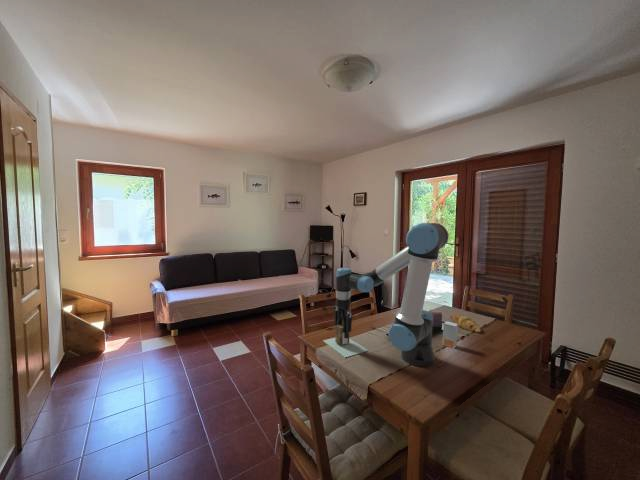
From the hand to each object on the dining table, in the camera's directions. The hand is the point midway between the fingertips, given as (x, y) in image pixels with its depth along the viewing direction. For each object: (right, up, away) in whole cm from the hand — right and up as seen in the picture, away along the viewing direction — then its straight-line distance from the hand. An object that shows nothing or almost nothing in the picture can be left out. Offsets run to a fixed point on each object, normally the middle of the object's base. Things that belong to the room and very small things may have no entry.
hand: (342, 341), depth 141 cm
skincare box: (+56, -2, 0) cm, 56 cm away
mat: (+1, -2, -2) cm, 3 cm away
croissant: (+77, -1, +25) cm, 81 cm away
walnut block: (0, 0, 0) cm, 0 cm away
